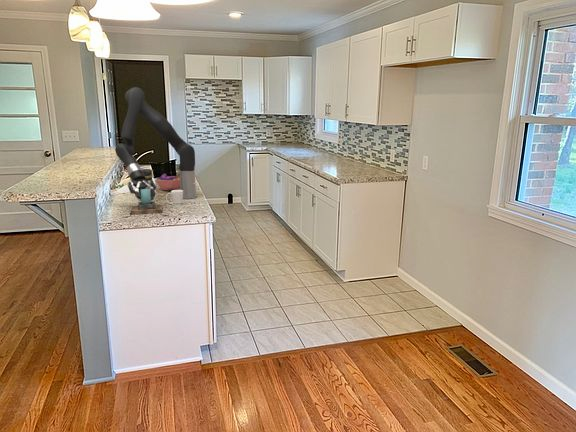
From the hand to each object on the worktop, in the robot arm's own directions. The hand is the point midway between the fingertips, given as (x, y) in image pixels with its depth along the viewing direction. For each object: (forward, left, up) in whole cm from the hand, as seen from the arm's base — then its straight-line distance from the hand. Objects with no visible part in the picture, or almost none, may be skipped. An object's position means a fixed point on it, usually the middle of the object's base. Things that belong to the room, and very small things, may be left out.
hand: (147, 197), depth 236 cm
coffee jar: (+3, -32, -8) cm, 33 cm away
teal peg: (+1, -1, -6) cm, 6 cm away
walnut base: (+1, -1, -8) cm, 8 cm away
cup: (-14, -14, -8) cm, 22 cm away
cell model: (-11, -58, -8) cm, 60 cm away
